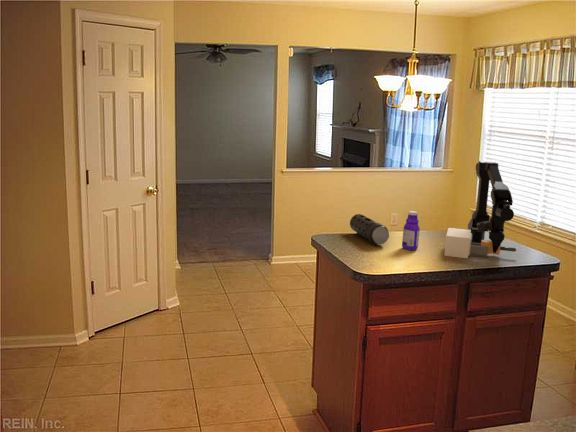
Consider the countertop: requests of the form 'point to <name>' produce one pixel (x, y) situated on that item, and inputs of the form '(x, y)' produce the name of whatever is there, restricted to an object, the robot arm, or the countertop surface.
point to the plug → (490, 248)
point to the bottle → (411, 232)
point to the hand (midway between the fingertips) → (494, 250)
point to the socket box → (462, 244)
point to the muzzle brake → (369, 229)
